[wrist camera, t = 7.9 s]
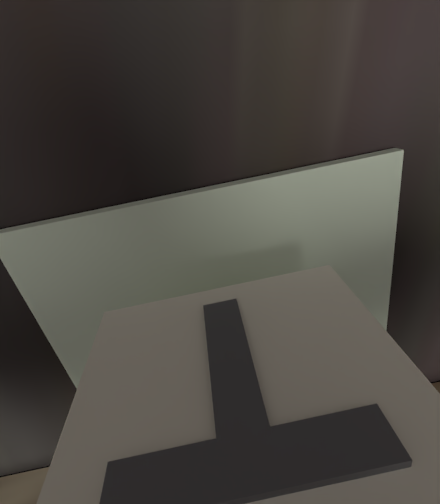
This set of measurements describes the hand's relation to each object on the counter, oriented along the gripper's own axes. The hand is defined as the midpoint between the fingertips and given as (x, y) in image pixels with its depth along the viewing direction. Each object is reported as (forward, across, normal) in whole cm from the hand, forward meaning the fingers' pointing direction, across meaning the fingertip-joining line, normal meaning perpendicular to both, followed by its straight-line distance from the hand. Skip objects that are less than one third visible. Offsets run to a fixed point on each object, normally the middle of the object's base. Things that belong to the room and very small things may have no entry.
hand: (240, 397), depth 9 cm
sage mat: (+3, 0, 0) cm, 3 cm away
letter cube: (+1, 0, 0) cm, 1 cm away
